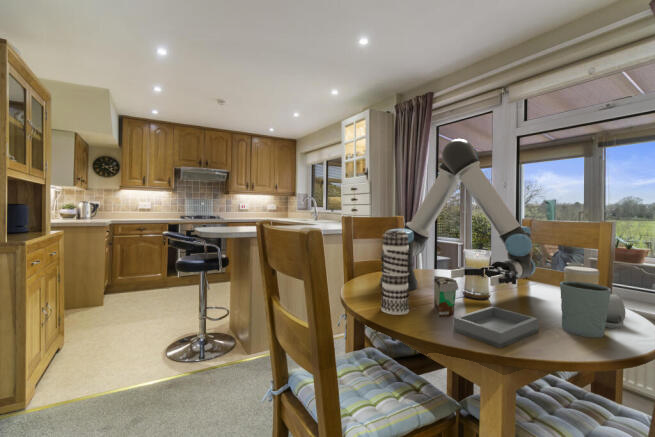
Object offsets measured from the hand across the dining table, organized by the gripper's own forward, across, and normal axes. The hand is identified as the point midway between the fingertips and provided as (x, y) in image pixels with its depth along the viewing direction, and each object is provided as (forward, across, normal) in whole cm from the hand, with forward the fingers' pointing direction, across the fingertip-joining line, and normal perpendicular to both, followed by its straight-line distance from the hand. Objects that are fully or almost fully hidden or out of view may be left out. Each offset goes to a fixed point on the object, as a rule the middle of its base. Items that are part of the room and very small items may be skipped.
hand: (470, 277), depth 99 cm
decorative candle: (+23, +11, -10) cm, 27 cm away
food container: (+11, +1, -10) cm, 15 cm away
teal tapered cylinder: (-7, -27, -10) cm, 30 cm away
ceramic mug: (-20, -28, -11) cm, 36 cm away
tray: (+13, -15, -10) cm, 22 cm away
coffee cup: (-36, -17, -10) cm, 41 cm away
